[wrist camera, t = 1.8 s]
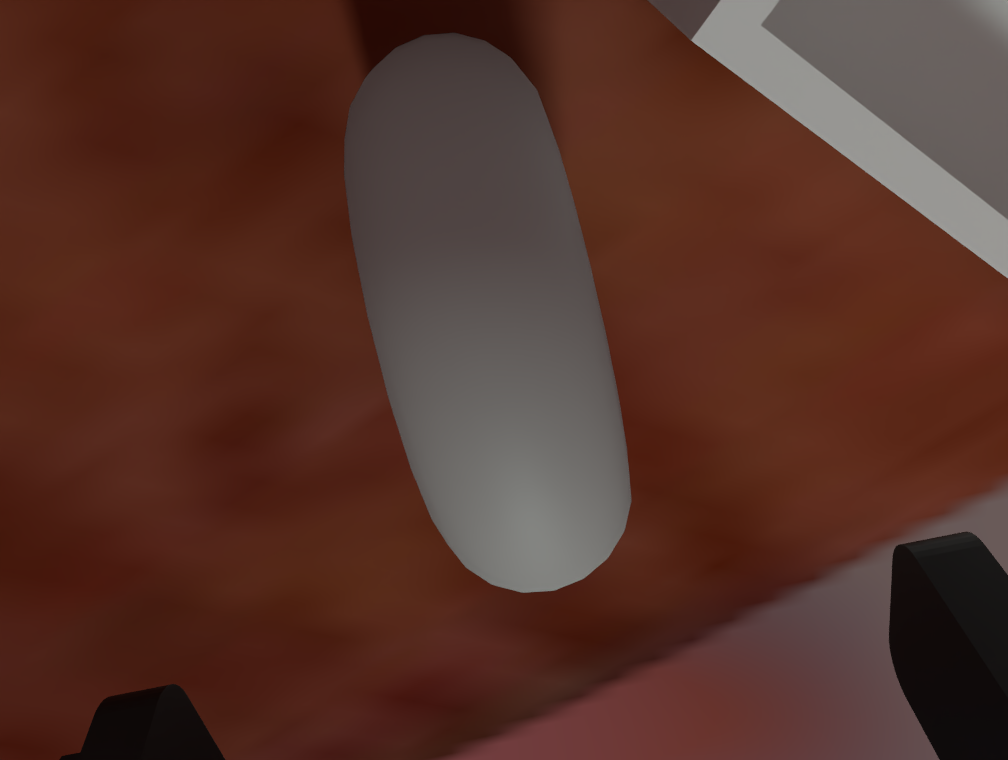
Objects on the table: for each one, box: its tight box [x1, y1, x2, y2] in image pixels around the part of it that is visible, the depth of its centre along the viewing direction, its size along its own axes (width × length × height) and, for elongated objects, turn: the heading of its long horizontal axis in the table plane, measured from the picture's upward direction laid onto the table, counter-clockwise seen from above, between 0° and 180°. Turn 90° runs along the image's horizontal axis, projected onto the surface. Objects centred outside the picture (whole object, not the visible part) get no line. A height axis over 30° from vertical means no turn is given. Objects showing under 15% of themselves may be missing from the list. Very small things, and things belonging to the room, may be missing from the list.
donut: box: [344, 33, 631, 593], centre depth 17 cm, size 10×3×10 cm, turn 12°
